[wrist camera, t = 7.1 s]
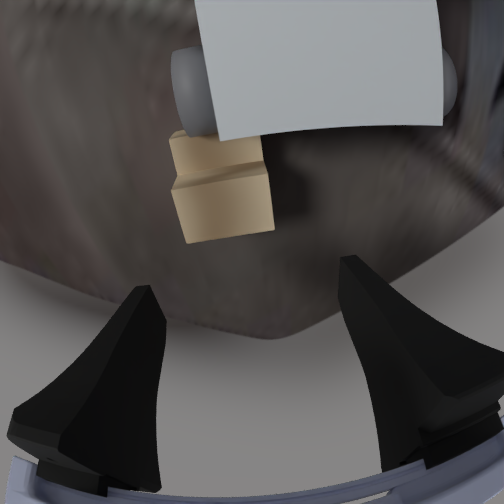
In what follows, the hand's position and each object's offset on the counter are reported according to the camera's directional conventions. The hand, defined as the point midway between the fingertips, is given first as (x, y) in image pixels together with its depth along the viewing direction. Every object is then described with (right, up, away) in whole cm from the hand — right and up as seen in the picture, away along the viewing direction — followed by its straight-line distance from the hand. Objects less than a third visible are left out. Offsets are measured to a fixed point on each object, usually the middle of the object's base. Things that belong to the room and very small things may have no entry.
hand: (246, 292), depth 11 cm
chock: (-2, +7, +6) cm, 9 cm away
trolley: (+3, +15, 0) cm, 15 cm away
